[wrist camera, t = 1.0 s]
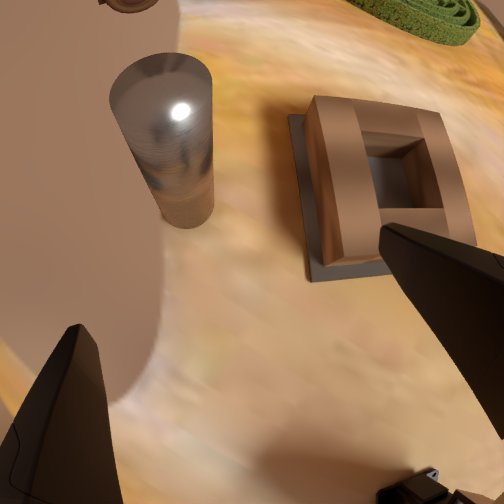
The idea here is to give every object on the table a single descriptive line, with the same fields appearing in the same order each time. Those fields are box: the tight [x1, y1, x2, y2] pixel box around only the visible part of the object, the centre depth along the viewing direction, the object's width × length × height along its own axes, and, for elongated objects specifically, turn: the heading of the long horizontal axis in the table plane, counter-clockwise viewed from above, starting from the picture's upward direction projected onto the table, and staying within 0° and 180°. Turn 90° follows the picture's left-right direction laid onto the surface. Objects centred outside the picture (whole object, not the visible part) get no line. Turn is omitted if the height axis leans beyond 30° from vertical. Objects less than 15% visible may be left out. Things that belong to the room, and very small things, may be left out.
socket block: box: [288, 95, 477, 282], centre depth 23 cm, size 14×14×4 cm
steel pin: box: [109, 53, 214, 229], centre depth 17 cm, size 4×4×13 cm
